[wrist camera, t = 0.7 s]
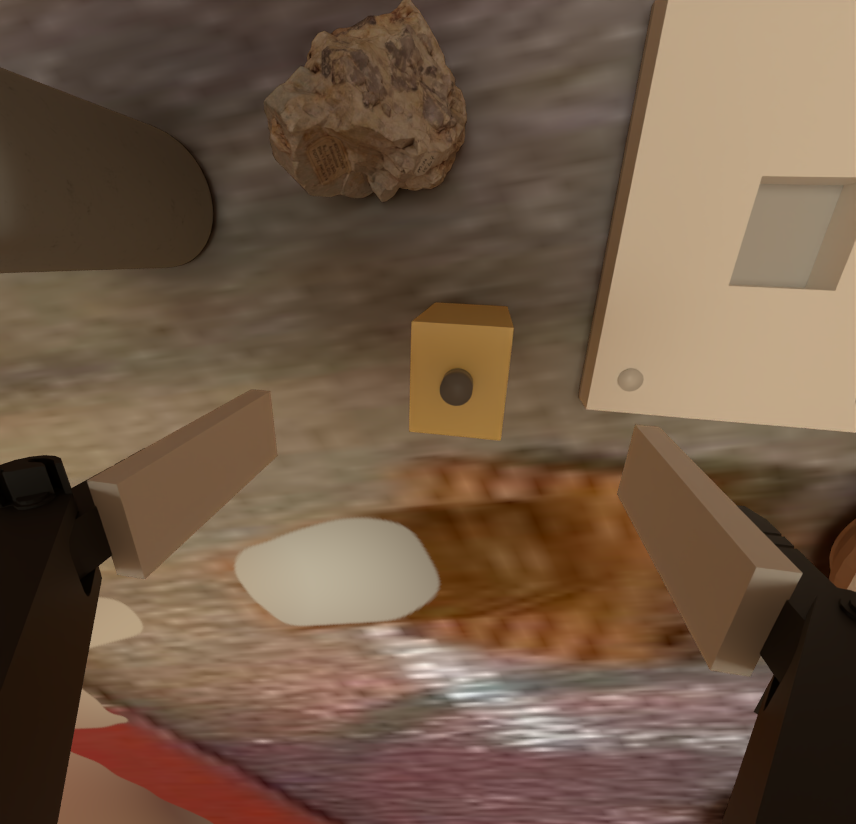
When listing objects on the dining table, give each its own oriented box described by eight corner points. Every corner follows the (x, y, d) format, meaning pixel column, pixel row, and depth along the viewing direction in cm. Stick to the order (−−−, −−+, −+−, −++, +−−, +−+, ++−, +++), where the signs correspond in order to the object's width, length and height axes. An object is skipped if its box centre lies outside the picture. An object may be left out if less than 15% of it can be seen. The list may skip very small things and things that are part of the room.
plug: (440, 298, 31) (406, 325, 18) (505, 301, 30) (515, 332, 18) (437, 372, 33) (404, 440, 21) (497, 377, 32) (501, 450, 20)
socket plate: (652, 5, 23) (680, -39, 19) (1062, -10, 20) (1176, -63, 17) (578, 395, 32) (588, 412, 28) (857, 418, 29) (905, 440, 26)
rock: (471, 181, 30) (512, 19, 20) (386, 289, 26) (388, 154, 17) (370, 123, 30) (365, -62, 21) (275, 221, 27) (216, 53, 17)
